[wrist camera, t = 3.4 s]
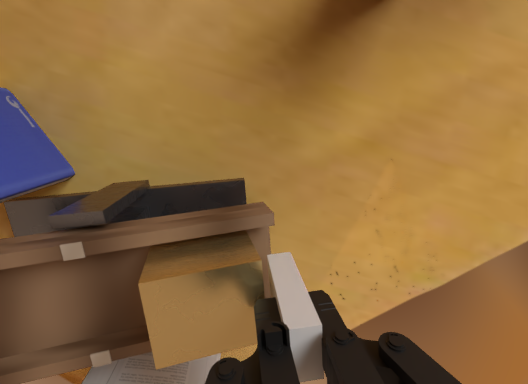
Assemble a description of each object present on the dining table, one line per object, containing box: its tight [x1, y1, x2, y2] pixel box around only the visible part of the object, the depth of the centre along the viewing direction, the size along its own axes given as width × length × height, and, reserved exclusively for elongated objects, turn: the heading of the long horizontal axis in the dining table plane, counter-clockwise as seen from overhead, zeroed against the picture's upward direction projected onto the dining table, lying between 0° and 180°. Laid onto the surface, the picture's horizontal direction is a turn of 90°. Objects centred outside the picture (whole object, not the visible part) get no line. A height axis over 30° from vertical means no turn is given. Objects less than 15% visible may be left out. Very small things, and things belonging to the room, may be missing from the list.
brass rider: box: [138, 230, 265, 370], centre depth 16 cm, size 6×5×4 cm
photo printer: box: [82, 352, 221, 384], centre depth 23 cm, size 10×4×12 cm, turn 77°
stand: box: [4, 178, 246, 237], centre depth 22 cm, size 20×10×9 cm, turn 94°
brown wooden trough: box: [0, 202, 274, 384], centre depth 18 cm, size 22×8×6 cm, turn 94°
